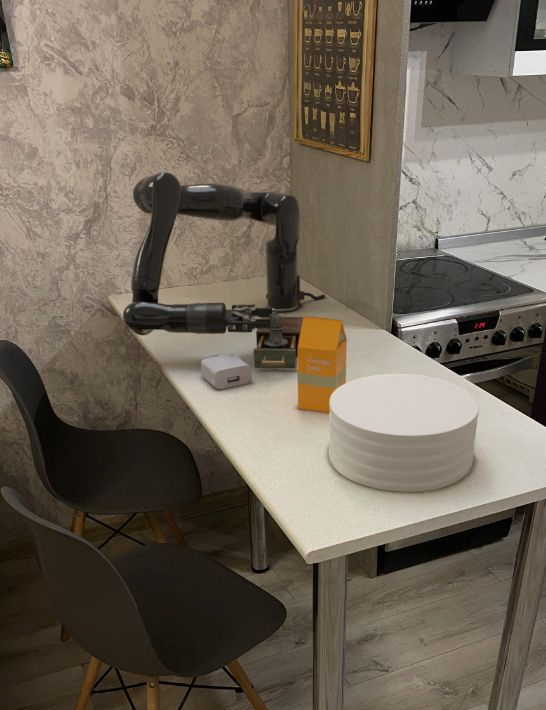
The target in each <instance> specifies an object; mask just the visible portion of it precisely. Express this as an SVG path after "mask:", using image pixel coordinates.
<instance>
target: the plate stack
mask: <svg viewBox="0 0 546 710" xmlns="http://www.w3.org/2000/svg"><path fill="white" fill-rule="evenodd" d="M479 405H480V404H479V402H478V400H477V398H476V397H475V396H474V395H473V394H472V393H471V392H470V391H468V390H467V389H465V388H464V387H462V386H460V385H458V384H455V383H453V382H451V381H447V380H445V379H442V378H438V377H433V376H428V375H421V374H410V373H384V374H383V373H381V374H374V375H373V374H372V375H367V376H363V377H359V378H356V379H353V380H350V381H347V382H346V383H345V384H343V385H342V386H340V387H339V388H337V389H336V390H335V391H334V392H333V393H332V395H331V397H330V401H329V409H330V412H329V413H328V421H329V423H328V432H329V435H328V458H329V461H330V463H331V465H332V467H333V468H334V469H335V470H336V472H338V473H339V474H341V475H342V476H343V477H345V478H347V479H349V480H350V481H352V482H354V483H357V484H359V485H363V486H365V487H369V488H371V489H376V490H383V491H390V492H399V493H401V492H402V493H405V492H406V493H416V492H426V491H432V490H437V489H441V488H444V487H448V486H450V485H453V484H454V483H456V482H458V481H460V480H462V479H463V478H464V477H465V476H467V474H468V473H469V472H470V470H471V469H472V466H473V460H474V452H475V442H476V437H477V436H476V435H477V429H478V418H479V412H480V406H479Z"/></svg>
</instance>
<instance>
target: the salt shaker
mask: <svg viewBox="0 0 546 710" xmlns="http://www.w3.org/2000/svg"><path fill="white" fill-rule="evenodd" d="M281 317H282V315H281V313H280V312H277V311H276V309H275V310H274V311H273V313H272V314H270V319H271V328H269V329H270V337H269V339H267V340H265V342H264V343H265V345H266V348H267V349H285V348H286V344H287V343H288V341H287V340H286V339H283V337H282V328H283V326H281Z"/></svg>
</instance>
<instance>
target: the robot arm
mask: <svg viewBox="0 0 546 710" xmlns="http://www.w3.org/2000/svg"><path fill="white" fill-rule="evenodd" d="M132 198H133V202H134V204H135V205H136V206H137V209H139V210H140V211H141V212H143V213H144V214H147V215H149V216H151V217H150V221H149V225H148V227H147V230H146V233H145V235H144V238H143V239H142V242H141V244H140V245H139V247H138V250H137V253H136V254H135V257H134V262H133V268H132V273H131V281H130V290H131V291H132V292H131V293H132V299H131V302H130V303H129V304H128V305H126V307H125V308H123V309H124V310H123V312H122V319H123V322H124V324H125V325H126V327H128V328H129V329H130V331H132V332H133V333H134V334H136V335H138V336H149V335H150V334H151V333H153V332H154V331H164V332H167V333H171V334H195V335H196V334H197V335H224V334H226V333H227V332H228V333H250V334H251V333H253V331H254V330H257V329H262V328H271V319H261V317H270V314H272V313H273V312H274V310H275V309H276V312H277V313H286V312H292V311H295V310H298V308H299V307H301V301H304V300H305V297H310V298H311V299H313V300H321V299H324V298H326V294H321V295H318V296H316V295H314V294H313V293H310V292H305V291H303V290H301V276H300V275H299V274H298V243H299V240H300V230H301V229H300V228H301V227H300V225H301V206H300V203H299V200H298V198H297V197H296V196H295V195H293V194H291V193H284V192H279V191H248V190H245V189H244V188H240V187H237V186H235V185H234V186H233V185H230V184H222V183H215V182H208V183H206V182H205V183H193V184H192V183H191V184H181V182H180V181H179V179H178V177H177V176H176V175H174V174H173V173H171V172H167V171H163V172H156V173H154V174H151V175H148V176H145V177H143V178H141V179H140V180H139V181H137V183H136V184H135V185H134V187H133V190H132ZM178 215H179V216H180V215H181V216H187V217H192V218H198V219H204V220H211V221H220V222H237V221H241V220H250V221H251V220H252V221H256V222H259V223H263V224H265V225H269V226H273V227H275V233H274V236H273V237H271V238H268V239H267V240H266V241H265V271H266V272H265V275H266V295H265V297H266V298H265V299H266V302H267V303H266V307H257V306H256V304H253V303H252V304H232V305H231V309H227V306H226V303H225V302H193V303H171V304H168V303H161V302H159V293H160V287H161V281H162V274H163V270H164V269H163V268H164V262H165V258H166V253H167V249H168V246H169V245H168V244H169V242H170V238H171V235H172V233H173V229H174V225H175V223H176V219H177V216H178Z"/></svg>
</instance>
